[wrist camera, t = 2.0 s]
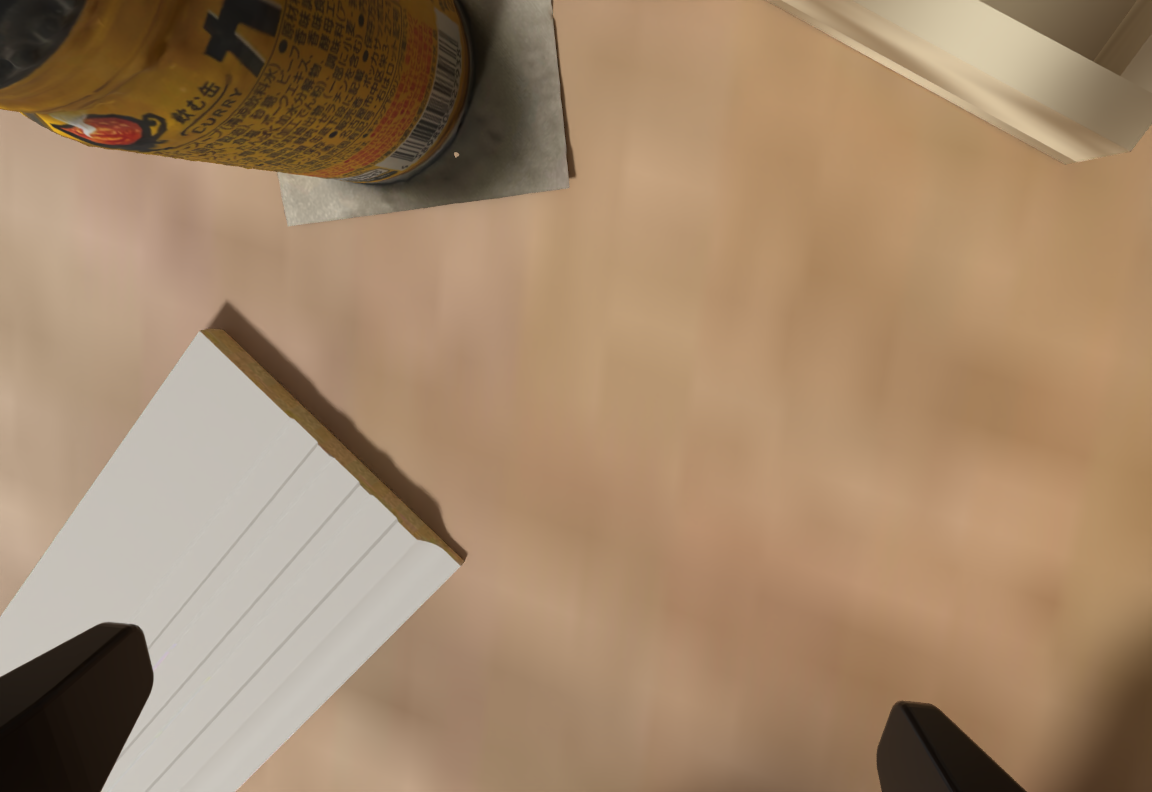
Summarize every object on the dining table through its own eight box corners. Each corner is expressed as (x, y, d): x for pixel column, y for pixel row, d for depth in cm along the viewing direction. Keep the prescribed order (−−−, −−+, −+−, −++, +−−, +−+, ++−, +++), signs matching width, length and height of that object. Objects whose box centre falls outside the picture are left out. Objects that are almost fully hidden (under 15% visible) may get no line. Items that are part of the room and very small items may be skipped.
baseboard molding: (504, 583, 23) (233, 323, 23) (473, 633, 20) (163, 336, 20) (74, 996, 32) (-117, 813, 32) (12, 1068, 29) (-197, 869, 29)
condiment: (240, -47, 19) (-479, -451, 8) (539, -119, 17) (160, -801, 6) (292, 226, 21) (-250, 223, 9) (572, 188, 19) (323, 125, 7)
